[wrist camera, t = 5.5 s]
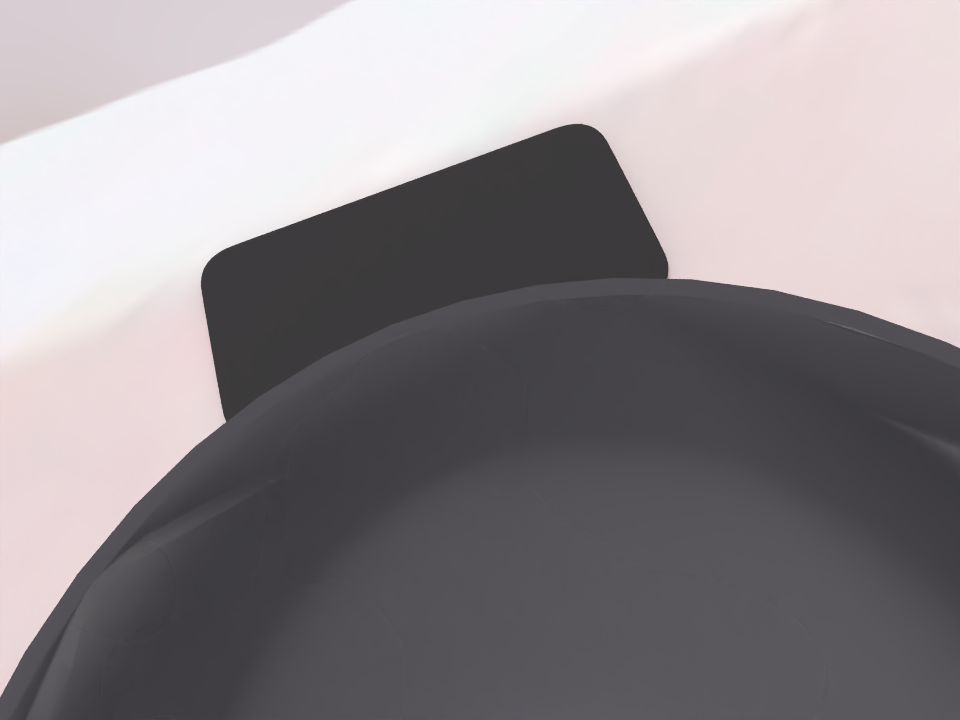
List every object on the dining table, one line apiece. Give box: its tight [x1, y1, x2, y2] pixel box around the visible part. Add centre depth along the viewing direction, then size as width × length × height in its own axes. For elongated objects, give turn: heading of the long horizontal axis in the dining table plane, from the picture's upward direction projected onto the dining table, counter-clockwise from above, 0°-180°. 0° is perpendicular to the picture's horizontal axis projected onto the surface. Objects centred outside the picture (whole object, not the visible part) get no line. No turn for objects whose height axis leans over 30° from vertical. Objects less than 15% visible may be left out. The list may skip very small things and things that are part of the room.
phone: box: [201, 124, 668, 422], centre depth 22 cm, size 7×1×15 cm
